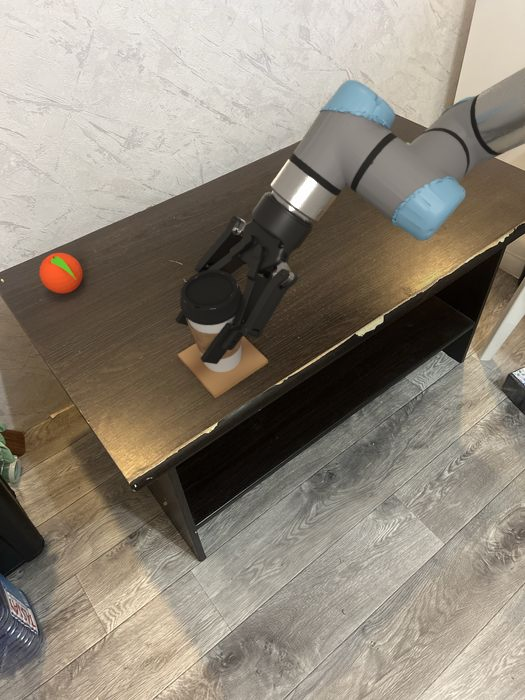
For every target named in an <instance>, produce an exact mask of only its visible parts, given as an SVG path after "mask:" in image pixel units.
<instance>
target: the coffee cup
mask: <svg viewBox="0 0 525 700" xmlns="http://www.w3.org/2000/svg"><path fill="white" fill-rule="evenodd" d="M242 295H243V292H242V290H241V287H240V286H239V284H238V282H237V280H236V278H235V277H234V276H233V275H232V274H229V273H227V272H225V271H222V270H206V271H202V272H199V273H198V272H196V273H195V274H194V275H192V276H191V277H189V278H188V279H187V280H185V283H183V286H182V287H181V290H180V300H179V303H180V304H179V305H180V310H181V311H182V313H183V314H184V316H185V317H186V319H187V322H188V325H189V326H188V325H187V326H188V327H189V329H190V332H191V334H192V337H193V339H194V342H195V343H196V344H197V346H198V349H199V351H200V353H201V356H202V355H203V354H204V353H205V351H206V350H207V349H208V347H209V346H210V344H211V343H212V342H213V340H214V339H215V338H216V336H217V335H218V334H219V332H220V331H221V329H222V328H223V327H224V326H225V324H226V323H233V320H234V317H235V314H236V312H237V309H238V306H239V303H240V300H241V298H242ZM241 341H242V338H241V339H240V341H239V342H238V343H237V345H236V346H235V347H234V349H232V350H227V352H226V353H225V354H224V356H223V357H222V358H221V360H220V361H219V362H218V364H212V363H206V362H204V363H205V365H206V366H207V367H208V368H209V369H210V370H212V371H215V372H227V371H230V370H232V369H234V368H235V367H236V366H237V365H238V364H239V362H240V360H241V356H242V349H241Z"/></svg>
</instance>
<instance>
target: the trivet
mask: <svg viewBox="0 0 525 700" xmlns="http://www.w3.org/2000/svg"><path fill="white" fill-rule="evenodd" d="M241 349H242V356H241V360H240V362H239V364H238V365H237V366H236V367H235V368H234V369H232V370H230V371H227V372H215V371H212V370H210V369H209V368H208V367H207V366H206V365H205V363H204V362H202V360H201V357H202V356H201V353H200V351H199V349H198V346H197V344H196V342H195V343H194V344H192V345H190V346H189V347H187V348H185V349H184V350H182V351H180V352H179V353H177V357H178V358H179V360H180V361H181V362H182V364H184V366H185V367H186V368H187V369H188V370H189V371H190V372H191V373H192V374H193V375H194V377H195V378H196V379H197V380H198V381H199V382H200V383H201V384H202V386H203V387H204V388H205V389H206V390H207V391H208V392H209V394H210V395H211V396H212V397H213V398H214V399H217V398H218V397H220V396H221V395H223V394H224V393H226V392H227V391H229V390H230V389H232V388H233V387H234V386H236V385H238V384H239V383H240V382H242V381H244V380H245V379H246V378H248V377H249V376H251V375H252V374H254V373H255V372H257V371H258V370H259V369H261V368H263V367H264V366H266V365H267V364H268V363H269V360H268V358H266V356H265V355H264V354H262V353H261V352H260V351H259V349H257V347H255V346H254V345H253V344H252V343H251V342H250V341H249V340H248V339H247V338H246V337H245V335H243V337H242V341H241Z"/></svg>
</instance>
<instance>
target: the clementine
mask: <svg viewBox="0 0 525 700" xmlns="http://www.w3.org/2000/svg"><path fill="white" fill-rule="evenodd" d="M83 272H84V271H83V269H82V265H81V263H80V262H79V261H78V260H77V259H76V257H74V256H72V255H71V254H69V253H65V252H55V253H51V254H50V255H48V256H47V257H45V258H44V259H43V260H42V262H41V264H40V266H39V278H40V280H41V282H42V285H44V287H45V288H47V289H48V290H49V291H51V292H53V293H57V294H68V293H72V292H73V291H75V290H76V289H78V287H79V286H80V285H81V283H82V280H83V275H84V274H83Z"/></svg>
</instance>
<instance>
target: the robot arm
mask: <svg viewBox="0 0 525 700" xmlns="http://www.w3.org/2000/svg"><path fill="white" fill-rule="evenodd" d="M395 118H396V113H395V111H394V109H393V108H392V107H391V106H390V104H389V103H387V101H385V100H384V99H383V98H381V97H380V96H379V95H378V94H377V92H375V91H374V90H372V89H371V88H370V87H368V86H367V85H365V84H364V83H362V82H361V81H358V80H355V79H348V80H345V81H343V83H341V84H340V86H339V87H338V88H337V89H336V90H335V92H334V93H333V94H332V95H331V97H330V98H329V99H328V101H327V102H326V104H325V105H324V106H323V107H322V108H321V109H320V110H319V113H318V114H317V116H316V117H315V119H314V121H313V122H312V124H311V126H310V127H309V128H308V129H307V132H306V133H305V134H304V136H303V137H302V139H301V140H300V142H299V144H298V145H297V147H296V148H295V149H294V150H293V153H291V155H290V157H289V158H288V159H287V161H286V162H284V163H285V164H284V165H283V167H282V168H281V169H280V170H279V172H278V174H276V176H275V178H273V180H272V182H270V188H271V191H267V192H264V194H263V195H262V197H261V198H260V200H259V201H258V202H257V204H256V206H255V207H254V208H253V209H252V212H251V217H252V219H251V220H250V221H246V220H244V219H242V218H241V217H238V216H237V215H233V216H232V217H230V220H229V222H228V224H227V226H226V228H225V230H224V231H223V233H221V235H220V236H219V237H218V238H217V239H216V241H215V242H214V243H213V244H212V245H211V246H210V247H209V249H208V250H207V251H206V252H205V253H204V255H203V256H202V257H201V258H200V259H199V261H198V262H197V263H196V265H195V266H194V271H195V273H199V272H202V271H206V270H222V271H225V272H227V273H229V274H231V275H232V274H233V273H234V272H236V271H237V270H239V269H240V268H241V267H243V266H244V265H246V266H247V268H248V270H247V273H246V277H247V281H246V284H245V287H244V290H243V292H242V298H241V300H240V303H239V306H238V309H237V312H236V314H235V317H234V320H233V323H226V324H225V326H224V327H223V328H222V329H221V331H220V332H219V334H218V335H217V336H216V338H215V339H214V340H213V342H212V343H211V344H210V346H209V347H208V349H207V350H206V351H205V353H204V354H203V355H202V357H201V360H202V362H206V363H212V364H218V362H219V361H220V360H221V358H222V357H223V356H224V354H225V353H226V352H227V350H232V349H234V347H235V346H236V345H237V343H238V342H239V341H240V339H241V338H242V337H243V336H248V337H252V338H259V337H260V336H261V335H262V333H263V332H264V330H265V328H266V326H267V325H268V323H269V321H270V319H271V318H272V316H273V315H274V313H275V311H276V309H277V307H278V306H279V304H280V303H281V301H282V299H283V298H284V296H285V294H286V292H287V291H288V290H289V289H291V287H292V286H294V285H295V284H296V282H297V281H298V279H299V276H298V274H297V273H295V272H293V271H292V270H291V269H290V268H291V267H290V266H289V264H288V262H289V259H290V256H291V254H292V252H294V251H295V250H297V249H299V248H300V247H301V246H302V245H303V243H305V241H306V239H307V238H308V237H309V235H310V234H311V233H312V232H313V230H314V224H313V222H315V223H317V222H320V220H321V219H322V217H323V216H324V215H325V214H326V212H327V211H328V209H329V208H330V207H331V206H332V204H333V203H334V202H335V200H336V199H337V198H338V197H339V195H340V194H341V192H342V191H343V190H344V189H345V187H348V188H349V189H350V190H352V191H353V192H354V193H355V194H356V195H358V196H359V197H361V198H362V199H363V200H364V201H365V202H366V203H368V204H369V205H370V206H371V207H373V209H375V210H376V211H378V212H379V213H380V214H381V215H382V216H384V217H385V218H386V219H387V220H389V221H390V222H391V223H392V225H394V227H396V228H400V229H401V230H402V231H404V232H405V233H407V234H408V235H410V236H411V237H412V238H414V239H416V240H417V241H420V242H423V241H428V240H429V239H431V238H432V237H433V236H434V235H435V234H436V232H437V231H438V230H440V228H441V227H442V226H443V225H444V223H445V222H446V221H448V219H449V218H450V216H452V215H453V213H454V212H455V211H456V210H457V208H458V207H459V206H460V204H461V203H462V202H463V201H464V200H465V198H466V195H467V194H466V193H467V192H466V190H465V188H464V187H463V185H461V184H460V182H461V181H462V180H463V179H464V178H465V177H466V176H467V174H469V172H470V171H471V170H472V169H473V168H475V167H477V166H478V165H481V164H484V163H485V162H488V161H490V160H492V159H494V158H497V157H499V156H501V155H503V154H505V153H507V152H510V151H512V150H514V149H515V148H518V147H520V146H522V145H525V67H523V68H521V69H520V70H517V71H516V72H514V73H513V74H511V75H509V76H507V77H505V78H504V79H502V80H501V81H499V82H497V83H495V84H493V85H492V86H490V87H488V88H487V89H485V90H483V91H481V93H479V94H477V95H475V96H468V97H464V98H462V99H460V100H459V101H457V102H455V103H454V104H452V105H451V106H449V107H448V108H446V109H445V110H444V111H443V112H442V113H441V114H440V116H438V118H437V119H436V120H435V121H434V122H433V123H432V124H430V126H428V127H427V128H426V129H425V130H424V131H423V132H422V133H420V134H419V135H418V136H417V137H416V138H415V139H414V140H413V141H412V142H411V143H410V145H408V144H406V143H407V142H405V141H404V140H402V139H401V138H400V137H398V136H397V135H396V134H394V132H393V131H391V129H392V125H393V123H394V121H395ZM261 275H262V276H261ZM175 322H176V323H177V324H180V325H183V326H188V327H189V325H188V322H187V319H186V317H185V316H184V314H183V313H182V310H181V311H180V312H179V314H178V315H177V317H176V318H175Z"/></svg>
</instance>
